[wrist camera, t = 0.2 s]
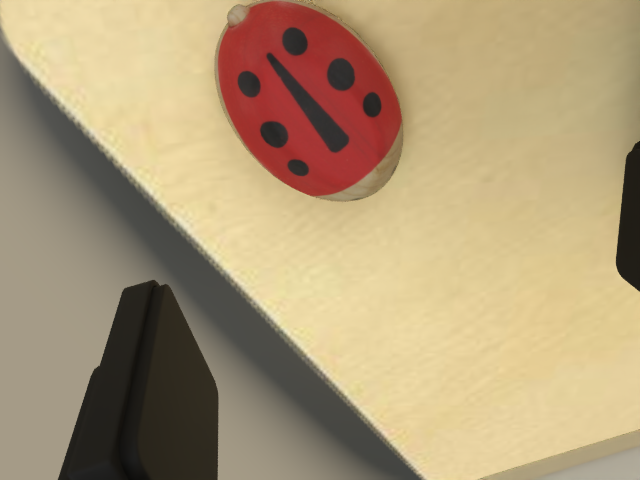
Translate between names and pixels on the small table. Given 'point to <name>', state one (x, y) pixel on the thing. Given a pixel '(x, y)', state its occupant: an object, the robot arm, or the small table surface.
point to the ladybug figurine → (308, 99)
